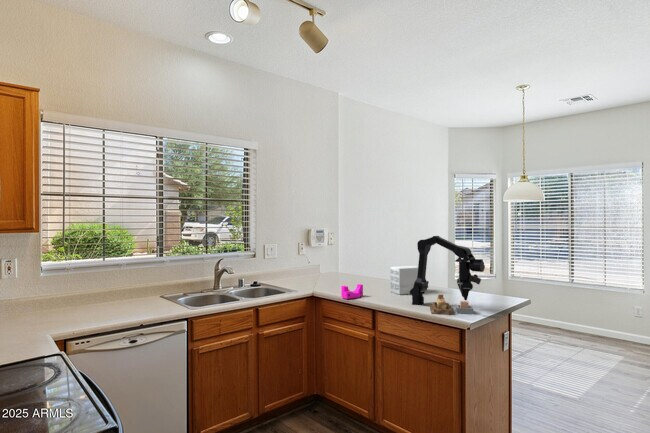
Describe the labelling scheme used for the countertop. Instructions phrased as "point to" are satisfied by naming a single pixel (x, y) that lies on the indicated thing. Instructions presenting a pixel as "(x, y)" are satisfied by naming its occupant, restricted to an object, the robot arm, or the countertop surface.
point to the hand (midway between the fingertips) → (464, 298)
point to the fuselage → (441, 302)
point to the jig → (441, 311)
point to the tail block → (464, 304)
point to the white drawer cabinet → (402, 279)
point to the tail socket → (464, 310)
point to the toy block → (352, 292)
